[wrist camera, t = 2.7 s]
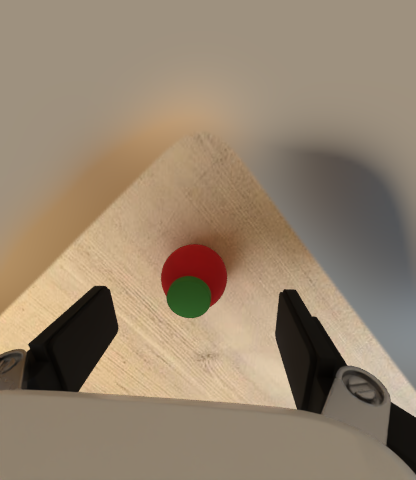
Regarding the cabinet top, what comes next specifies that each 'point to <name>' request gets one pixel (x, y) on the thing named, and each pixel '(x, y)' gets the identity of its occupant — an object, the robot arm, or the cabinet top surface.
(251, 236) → the cabinet top surface
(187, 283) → the toy tomato
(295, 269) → the cabinet top surface
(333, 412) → the robot arm
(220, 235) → the cabinet top surface
